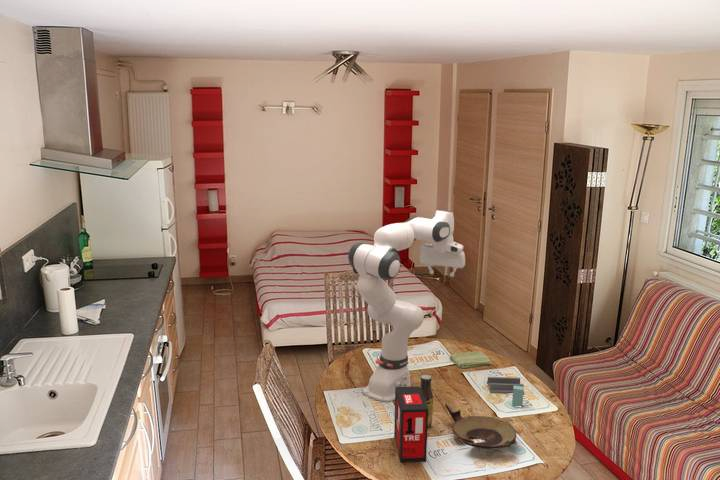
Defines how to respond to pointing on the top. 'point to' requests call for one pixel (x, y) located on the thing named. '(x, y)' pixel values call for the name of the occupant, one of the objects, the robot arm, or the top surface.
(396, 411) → the cleaning product box
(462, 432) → the frying pan
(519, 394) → the teal ridged block
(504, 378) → the slotted rack
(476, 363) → the washcloth
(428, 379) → the sauce bottle
